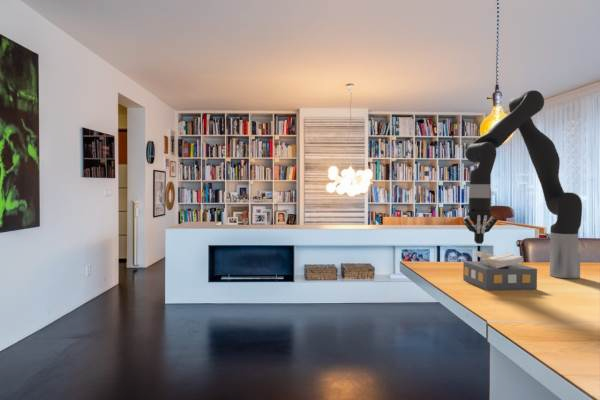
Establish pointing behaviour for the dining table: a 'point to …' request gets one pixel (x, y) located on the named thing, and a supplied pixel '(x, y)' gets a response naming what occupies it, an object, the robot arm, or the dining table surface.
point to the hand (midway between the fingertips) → (478, 243)
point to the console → (500, 276)
